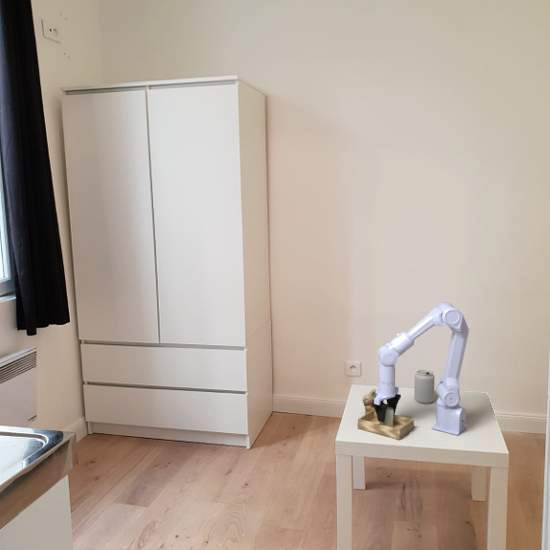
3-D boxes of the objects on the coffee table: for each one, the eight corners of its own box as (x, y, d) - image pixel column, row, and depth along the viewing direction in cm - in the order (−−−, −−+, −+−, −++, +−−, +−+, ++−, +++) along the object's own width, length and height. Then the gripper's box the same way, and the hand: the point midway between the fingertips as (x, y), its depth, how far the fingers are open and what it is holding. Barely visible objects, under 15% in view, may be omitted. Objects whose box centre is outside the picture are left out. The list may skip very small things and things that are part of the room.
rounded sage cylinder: (395, 426, 207) (395, 408, 206) (389, 431, 203) (389, 413, 202) (382, 422, 210) (382, 405, 209) (376, 427, 206) (376, 410, 205)
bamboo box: (413, 429, 205) (413, 419, 205) (399, 440, 197) (399, 430, 196) (373, 418, 215) (373, 409, 214) (357, 428, 206) (357, 419, 206)
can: (433, 405, 226) (434, 375, 224) (413, 403, 228) (414, 374, 226) (434, 398, 233) (434, 369, 231) (414, 396, 235) (415, 368, 233)
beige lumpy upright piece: (367, 408, 224) (367, 383, 222) (386, 412, 220) (387, 387, 218) (361, 413, 219) (361, 388, 218) (381, 417, 215) (381, 392, 214)
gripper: (386, 372, 211) (385, 408, 214) (366, 384, 200) (366, 421, 202) (404, 376, 207) (403, 413, 209) (384, 388, 196) (384, 426, 198)
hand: (386, 417), depth 206 cm, fingers open, 7 cm apart
